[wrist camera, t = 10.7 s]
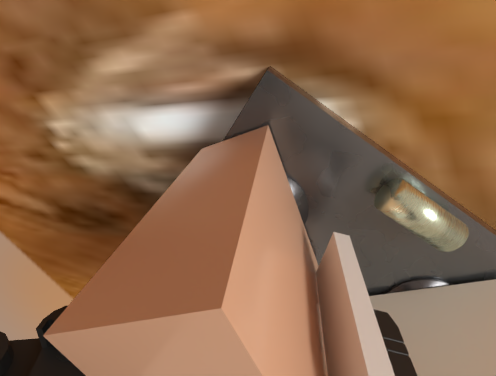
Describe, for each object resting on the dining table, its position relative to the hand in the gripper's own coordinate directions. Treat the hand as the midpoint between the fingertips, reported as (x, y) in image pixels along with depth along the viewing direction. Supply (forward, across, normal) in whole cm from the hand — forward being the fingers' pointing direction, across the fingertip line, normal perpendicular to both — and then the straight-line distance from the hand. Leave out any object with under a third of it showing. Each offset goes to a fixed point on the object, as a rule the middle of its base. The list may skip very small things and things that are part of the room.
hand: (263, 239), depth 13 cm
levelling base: (+5, +5, -2) cm, 8 cm away
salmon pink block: (+2, 0, 0) cm, 2 cm away
